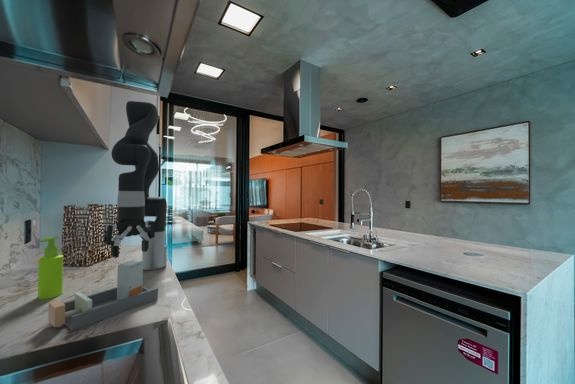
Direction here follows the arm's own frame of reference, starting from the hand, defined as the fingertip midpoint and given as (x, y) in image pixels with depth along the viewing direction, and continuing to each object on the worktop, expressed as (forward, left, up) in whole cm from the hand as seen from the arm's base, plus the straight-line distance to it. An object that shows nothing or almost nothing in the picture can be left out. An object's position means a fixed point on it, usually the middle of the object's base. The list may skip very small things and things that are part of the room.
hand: (130, 254), depth 77 cm
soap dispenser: (+13, -26, -16) cm, 33 cm away
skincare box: (0, 0, -15) cm, 15 cm away
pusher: (+15, 0, -14) cm, 21 cm away
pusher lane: (+5, 0, -15) cm, 16 cm away
